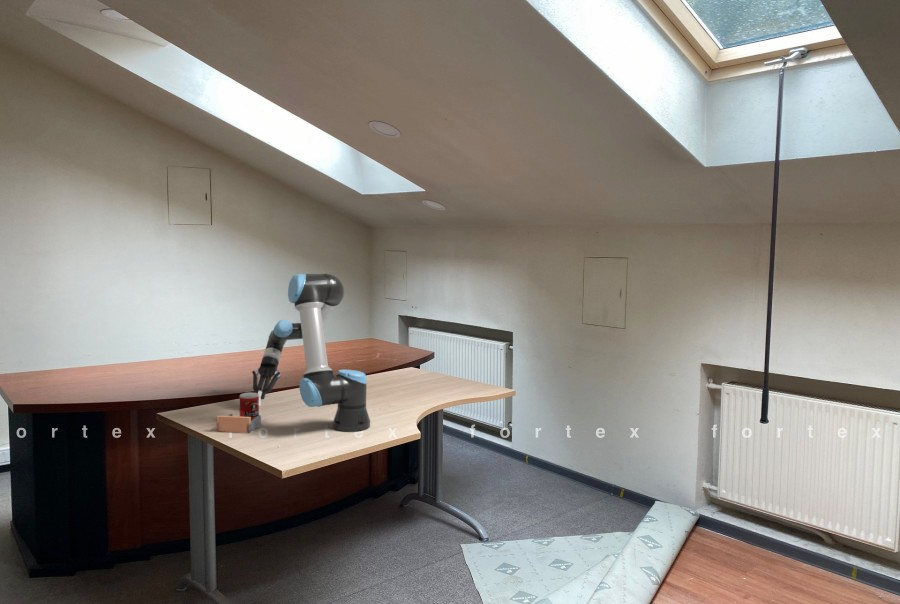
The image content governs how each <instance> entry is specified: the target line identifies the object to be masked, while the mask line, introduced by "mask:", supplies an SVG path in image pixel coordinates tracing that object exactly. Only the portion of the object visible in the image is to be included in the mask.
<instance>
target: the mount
mask: <svg viewBox="0 0 900 604" xmlns="http://www.w3.org/2000/svg"><path fill="white" fill-rule="evenodd" d="M261 424H262V415H260V414H259V415H258V416H257V417H256V418H254V419H253V420H252V421H251V417H240V415H239V416H237V415H236V416H235V415H233V414H232V413H231V414H228V415H217V416H216V432H217V431H225V432H224V433H239V432H241V434H243V433H245V434H246V433H247V434H250V433H251V432H253V431H254V430H255V429H256V428H257V427H259V426H260V425H261ZM258 425H259V426H258ZM253 429H254V430H253ZM242 432H243V433H242Z"/></svg>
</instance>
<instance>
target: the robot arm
mask: <svg viewBox="0 0 900 604" xmlns="http://www.w3.org/2000/svg"><path fill="white" fill-rule="evenodd" d="M344 287H345V286H344V283H343V282H342V281H341V280H340V278H338V277H337V276H335V274H330V273H301V274H300V273H298V274H294V275H292V277H291V278H290V281H289V283H288V289H287V298H288V302H290V303H291V304H294V309H295V310H296V311H298V312H299V313H298V314H299V319H300V321H299V322H294V323H293V322H291V321H289V320H287V319H281V320H279V321H277V323H276V324H275V326H274V327H273V330H271V331H270V333H269V335H268V338H267V343H266V345H265V349H264V352H263V354H262V355H263V356H262V359H261V363H260V365H259V367H258V369H257V370H252V371H251V373H252V378H253V380H252V389H253V391H254V393H257V394H259V408H260V407H261V404H262V400H264V399H265V398H266V394H267V393H271V392H272V390H273V389H274V387H275V385H276V383H277V381H278V380H279V379H280V378H281V376H282V373H280V371H278V370H277V369H278V368H279V363H280V359H281V355H282V352H283V348H284V346H285V345H286V343H287V341H291V340H293V341H294V340H302V343H303V345H302V346H303V352H304V358H305V368H306V369H305V371H304V372H303V374H302V375H303V376H302V378H301V379H300V380H299V392H300V393H299V394H300V397H301V399H302V401H303V402H304V404H305V405H306V406H307V407H310V408H314V407H315V408H316V407H323V406H330V405H337V408H336V412H335V414H334V418H333V421H332V427H333V429H335V430H337V431H339V432H340V431H341V432H361V431H364V429H365V430H367V429H369V428H370V427H371V419H370V416H369V412H368V410H367V385H368V382H367V374H366V373H364V372H363V371H359V370H354V369H339V370H338V371H337V374H334V371H333V369H332V368H331V367H330V366H329V360H328V356H327V346H326V338H325V332H324V325H323V324H324V322H326V321H325V320H326V319H327V318H329V317H328V316H329V315H330V314H331V312H332V311H333V309H334V308H335V307H337V306H338V305H340V303H341V302H342V301H343V300H344V299H343V298H344V296H345V288H344ZM258 376H259V381H258ZM360 430H361V431H360Z"/></svg>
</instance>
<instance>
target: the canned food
mask: <svg viewBox="0 0 900 604" xmlns="http://www.w3.org/2000/svg"><path fill="white" fill-rule="evenodd" d="M258 415H260V407H259V394H257V393H256V392H244V393H241V394H239V416H240V417H251V421H252V420H253V419H254V418H256V417H257V416H258Z"/></svg>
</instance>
